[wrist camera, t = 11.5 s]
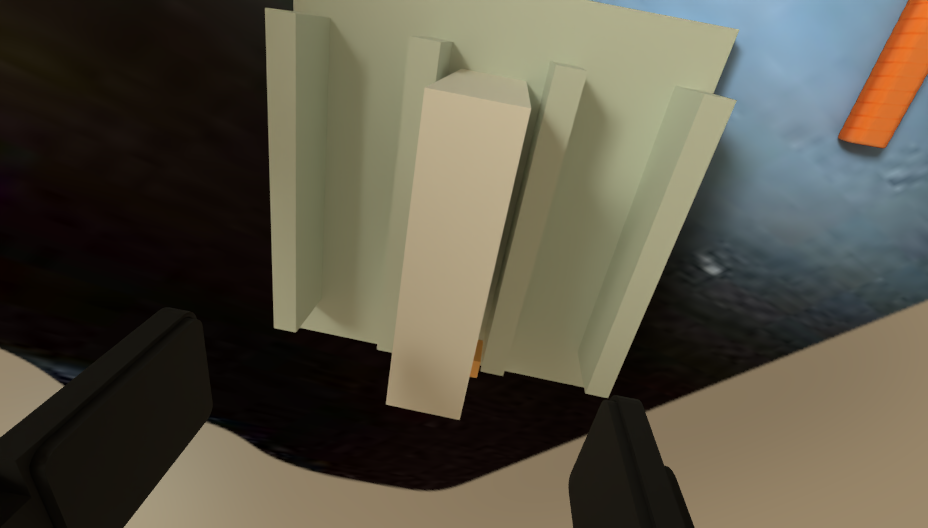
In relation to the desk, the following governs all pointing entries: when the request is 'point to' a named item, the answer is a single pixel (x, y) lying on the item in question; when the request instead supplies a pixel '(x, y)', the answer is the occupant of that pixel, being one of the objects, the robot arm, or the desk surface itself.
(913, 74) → the magnifying glass
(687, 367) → the desk surface
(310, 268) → the rack
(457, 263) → the panel
